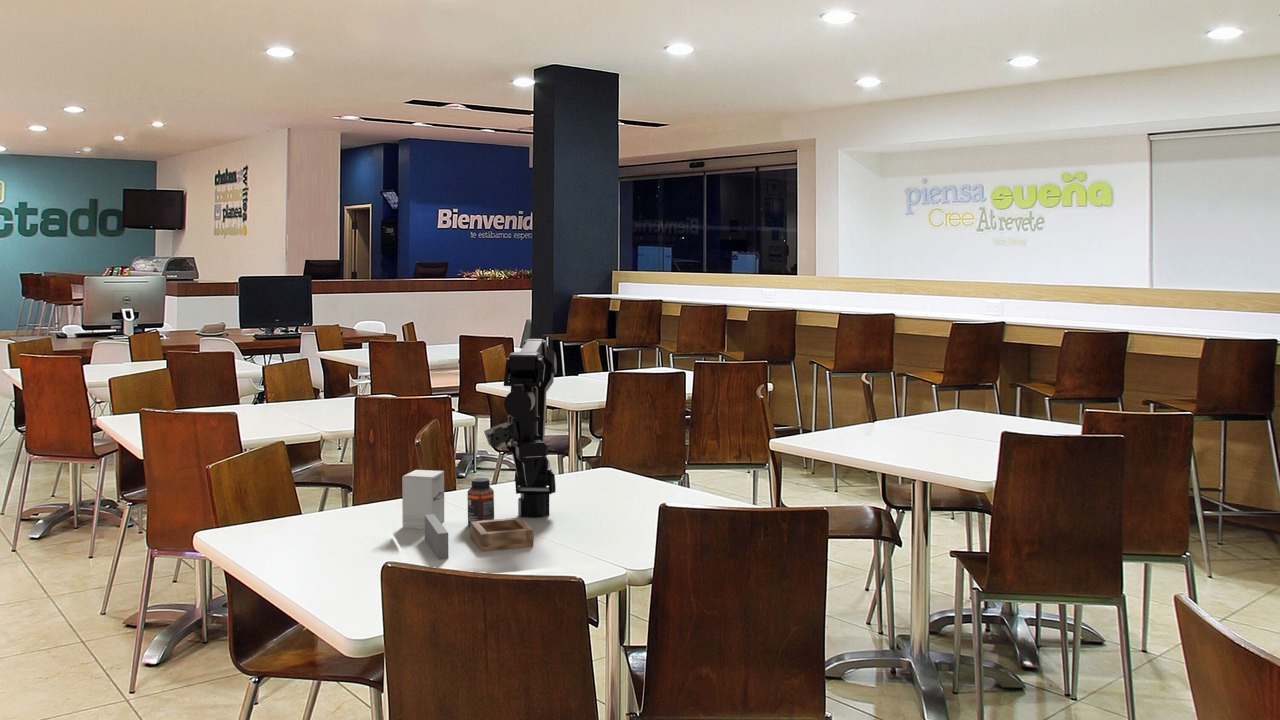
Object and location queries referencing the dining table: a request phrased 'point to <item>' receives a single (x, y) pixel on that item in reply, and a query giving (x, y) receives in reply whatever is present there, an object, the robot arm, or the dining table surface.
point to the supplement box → (422, 497)
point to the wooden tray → (501, 534)
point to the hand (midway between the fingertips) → (524, 482)
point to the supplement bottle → (480, 501)
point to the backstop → (436, 536)
